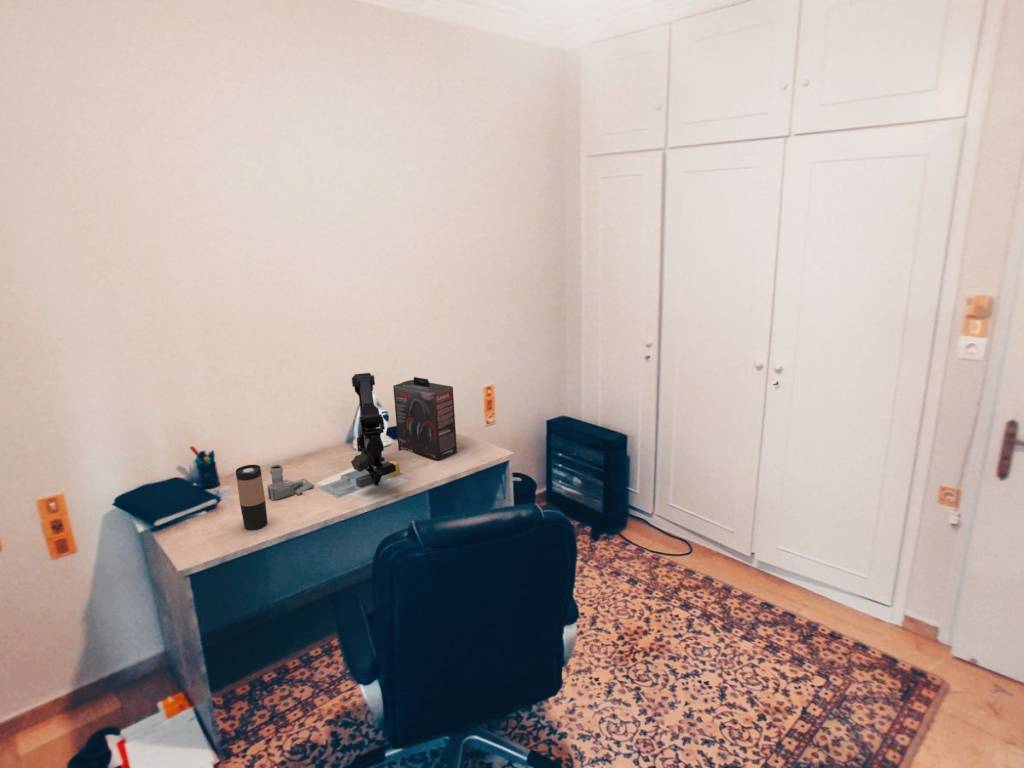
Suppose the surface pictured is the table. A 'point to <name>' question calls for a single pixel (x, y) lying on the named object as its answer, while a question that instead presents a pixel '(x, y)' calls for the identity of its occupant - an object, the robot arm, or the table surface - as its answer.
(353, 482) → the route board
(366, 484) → the charcoal brick
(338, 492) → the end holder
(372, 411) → the robot arm
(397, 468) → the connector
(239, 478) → the travel mug
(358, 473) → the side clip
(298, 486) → the grey angular model part
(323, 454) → the table surface
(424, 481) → the table surface
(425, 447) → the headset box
